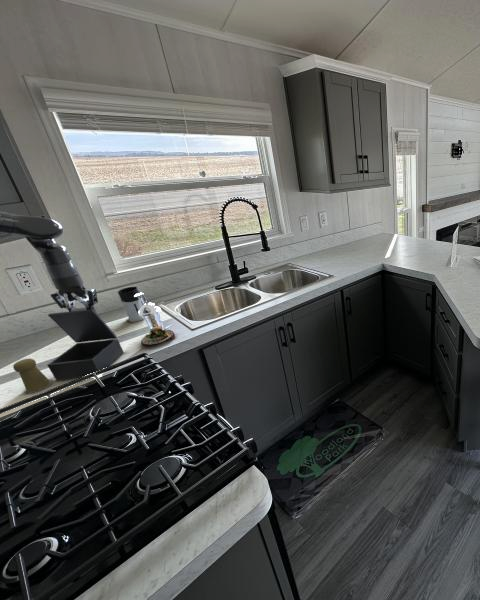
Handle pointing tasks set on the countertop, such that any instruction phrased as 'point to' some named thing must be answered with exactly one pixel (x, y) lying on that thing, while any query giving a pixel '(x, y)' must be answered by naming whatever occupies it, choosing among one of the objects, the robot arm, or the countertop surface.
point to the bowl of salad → (157, 336)
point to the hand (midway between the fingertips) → (84, 315)
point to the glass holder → (131, 302)
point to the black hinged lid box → (85, 359)
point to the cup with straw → (150, 313)
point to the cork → (31, 375)
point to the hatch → (83, 325)
